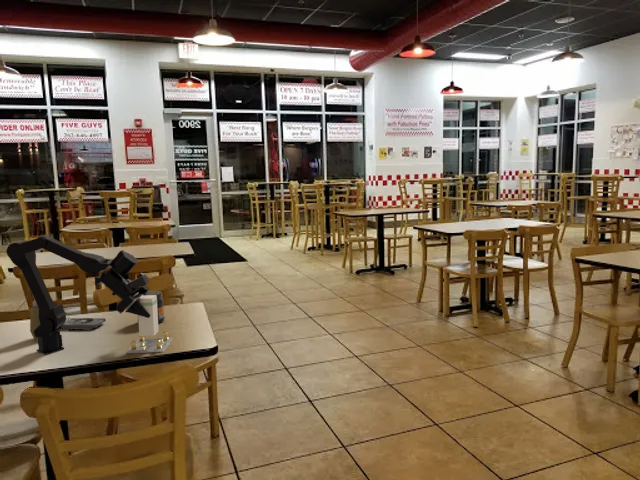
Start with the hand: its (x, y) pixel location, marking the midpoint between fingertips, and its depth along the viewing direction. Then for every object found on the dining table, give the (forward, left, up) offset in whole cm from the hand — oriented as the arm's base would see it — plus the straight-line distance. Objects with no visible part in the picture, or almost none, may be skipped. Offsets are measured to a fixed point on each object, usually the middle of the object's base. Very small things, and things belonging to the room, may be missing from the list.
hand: (152, 314), depth 173 cm
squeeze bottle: (-15, +45, -12) cm, 49 cm away
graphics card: (0, +45, -12) cm, 47 cm away
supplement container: (+19, +26, -12) cm, 34 cm away
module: (-1, +1, -7) cm, 7 cm away
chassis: (-1, +1, -11) cm, 12 cm away
